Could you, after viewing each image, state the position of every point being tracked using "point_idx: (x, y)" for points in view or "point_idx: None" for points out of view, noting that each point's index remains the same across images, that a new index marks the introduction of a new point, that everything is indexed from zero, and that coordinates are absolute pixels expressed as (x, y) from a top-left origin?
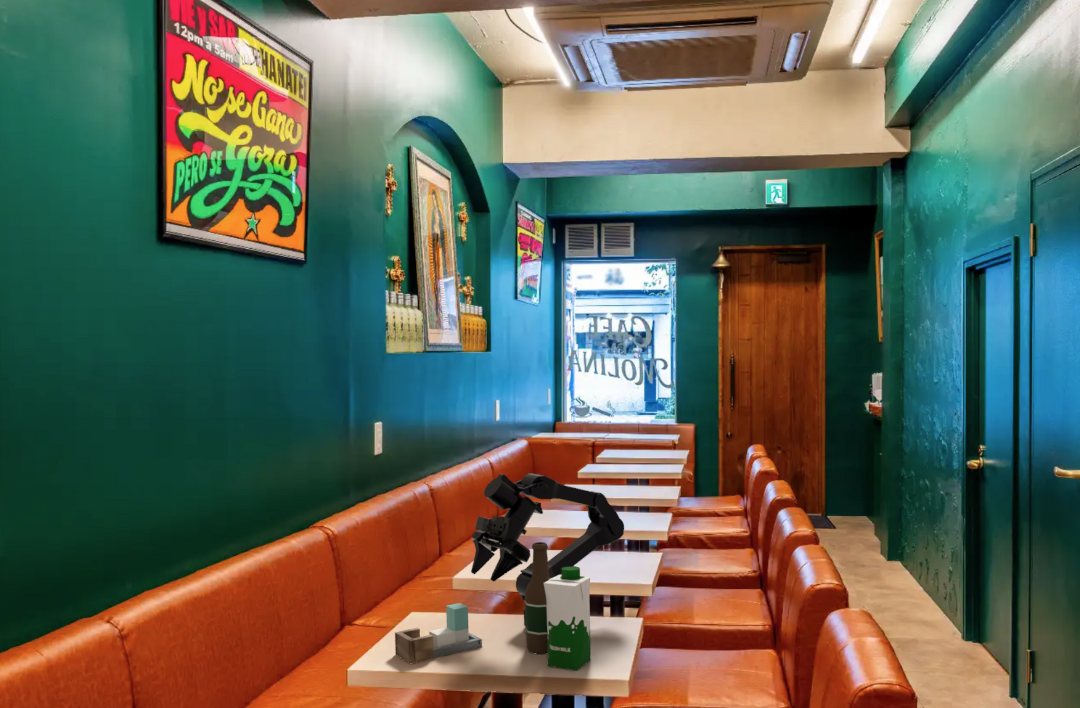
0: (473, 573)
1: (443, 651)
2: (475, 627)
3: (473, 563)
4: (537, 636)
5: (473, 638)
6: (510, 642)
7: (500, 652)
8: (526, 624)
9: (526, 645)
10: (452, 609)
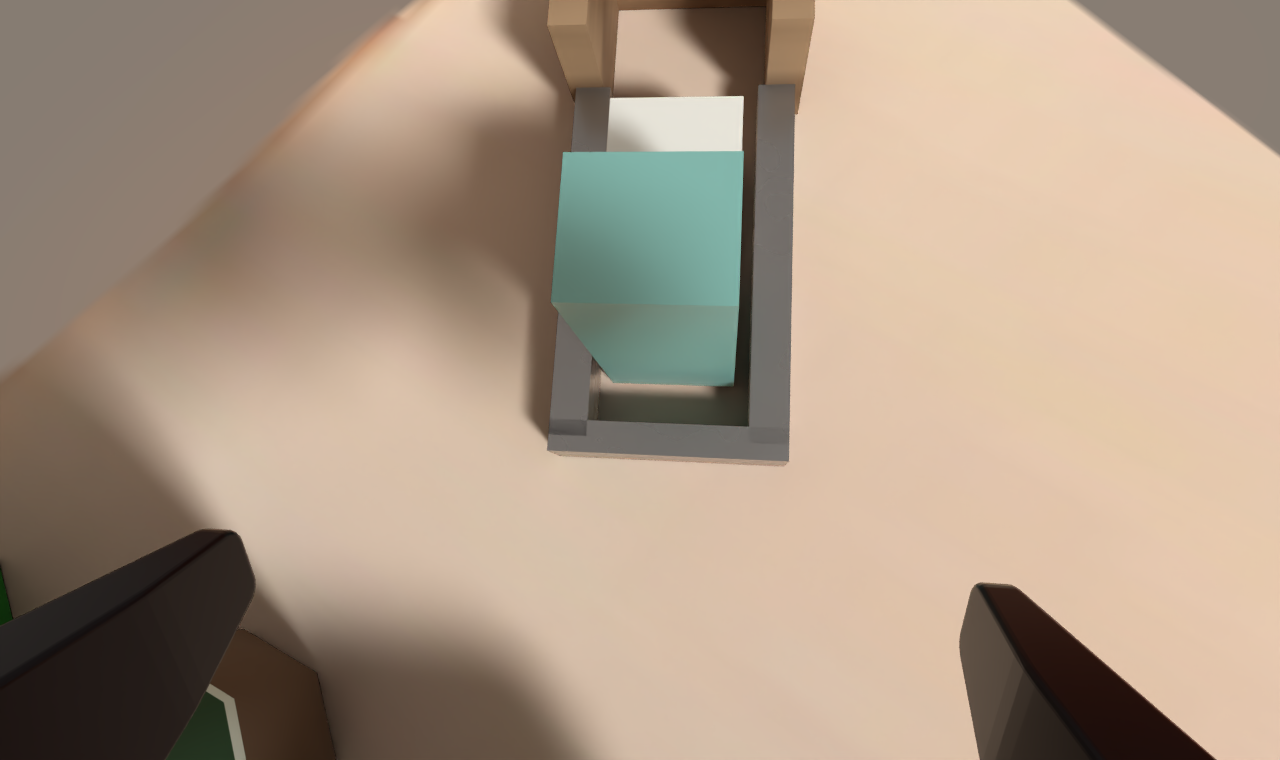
0: (966, 620)
1: None
2: None
3: (1138, 716)
4: None
5: (620, 423)
6: (505, 669)
7: (389, 488)
8: None
9: (306, 672)
10: (603, 155)
